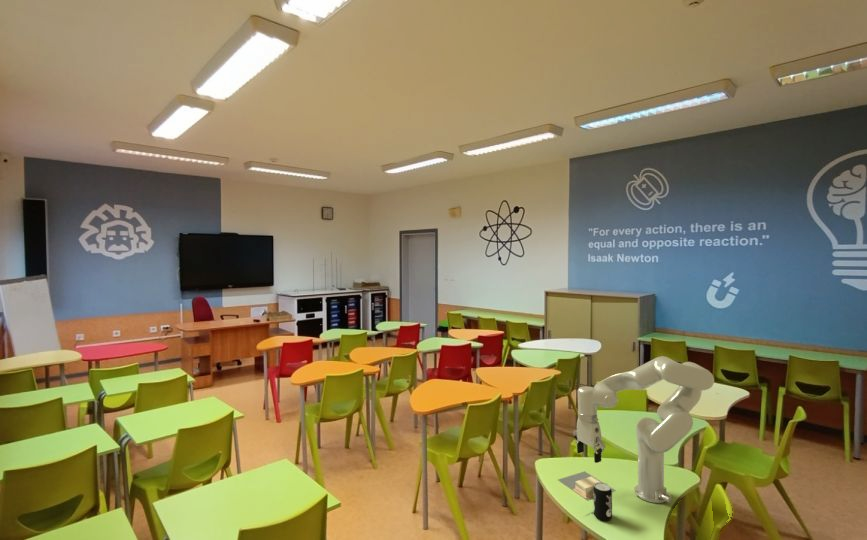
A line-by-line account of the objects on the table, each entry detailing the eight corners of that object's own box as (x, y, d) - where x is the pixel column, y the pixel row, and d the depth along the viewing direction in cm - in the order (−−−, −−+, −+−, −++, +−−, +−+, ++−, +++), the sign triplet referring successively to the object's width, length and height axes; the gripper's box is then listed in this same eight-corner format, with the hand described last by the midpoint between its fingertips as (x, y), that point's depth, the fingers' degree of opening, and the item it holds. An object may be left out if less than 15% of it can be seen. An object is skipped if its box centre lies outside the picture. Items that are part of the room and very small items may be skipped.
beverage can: (602, 524, 159) (602, 492, 159) (589, 514, 165) (589, 484, 165) (616, 519, 162) (615, 488, 161) (602, 510, 168) (602, 480, 167)
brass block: (585, 496, 176) (585, 488, 175) (575, 489, 181) (575, 481, 181) (602, 491, 179) (602, 483, 179) (591, 484, 185) (591, 476, 185)
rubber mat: (616, 492, 180) (616, 490, 180) (587, 501, 173) (587, 500, 173) (584, 472, 196) (584, 470, 196) (557, 481, 190) (557, 479, 190)
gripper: (610, 422, 173) (611, 463, 173) (579, 408, 188) (580, 447, 189) (596, 425, 170) (598, 468, 170) (566, 412, 185) (567, 450, 186)
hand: (589, 457), depth 180 cm, fingers open, 9 cm apart
